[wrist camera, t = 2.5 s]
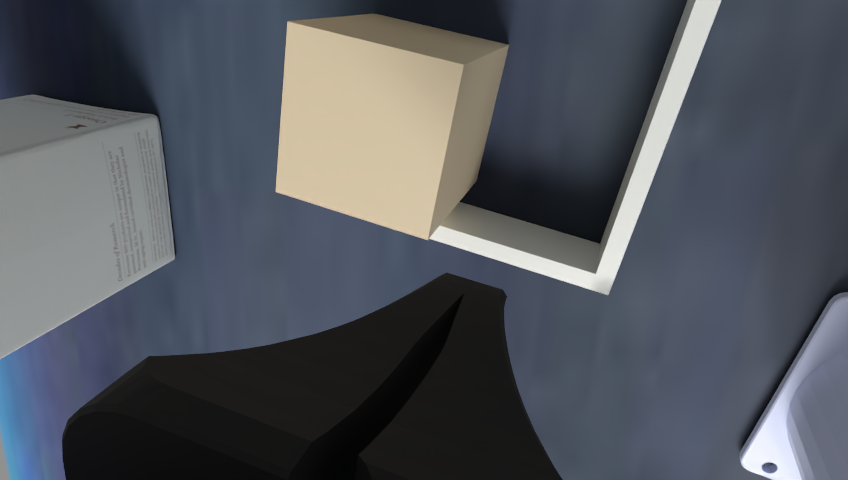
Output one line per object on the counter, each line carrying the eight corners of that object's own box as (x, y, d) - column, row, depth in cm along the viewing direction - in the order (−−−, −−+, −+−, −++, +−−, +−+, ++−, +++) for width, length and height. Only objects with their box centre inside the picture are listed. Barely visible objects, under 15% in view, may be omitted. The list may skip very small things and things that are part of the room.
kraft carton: (509, 44, 20) (463, 64, 14) (477, 180, 22) (427, 240, 17) (375, 13, 21) (287, 21, 16) (357, 145, 23) (275, 191, 18)
